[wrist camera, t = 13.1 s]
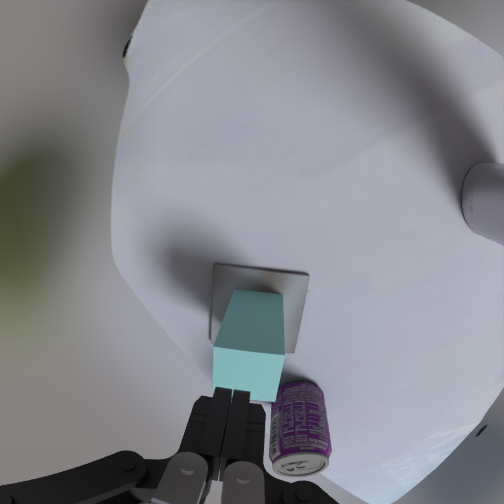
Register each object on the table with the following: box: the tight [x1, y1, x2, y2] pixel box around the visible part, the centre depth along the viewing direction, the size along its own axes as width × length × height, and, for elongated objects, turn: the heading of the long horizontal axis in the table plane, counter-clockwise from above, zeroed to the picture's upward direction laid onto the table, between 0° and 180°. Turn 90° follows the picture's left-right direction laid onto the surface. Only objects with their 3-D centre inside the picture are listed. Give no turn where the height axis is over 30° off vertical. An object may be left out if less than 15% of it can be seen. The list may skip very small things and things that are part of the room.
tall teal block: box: [213, 289, 285, 402], centre depth 25 cm, size 5×5×11 cm
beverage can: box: [269, 382, 332, 477], centre depth 28 cm, size 7×7×12 cm
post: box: [211, 264, 309, 353], centre depth 26 cm, size 10×10×10 cm
